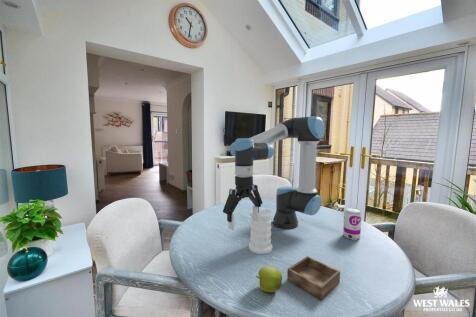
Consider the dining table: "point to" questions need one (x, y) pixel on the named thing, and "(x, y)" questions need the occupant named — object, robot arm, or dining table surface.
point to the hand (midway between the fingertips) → (243, 224)
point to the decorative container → (261, 232)
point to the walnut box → (313, 277)
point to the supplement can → (352, 223)
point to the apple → (269, 279)
